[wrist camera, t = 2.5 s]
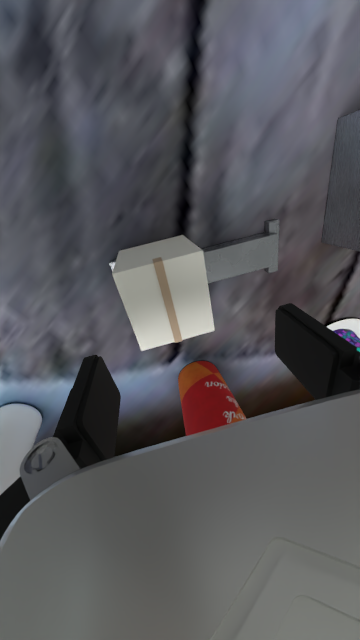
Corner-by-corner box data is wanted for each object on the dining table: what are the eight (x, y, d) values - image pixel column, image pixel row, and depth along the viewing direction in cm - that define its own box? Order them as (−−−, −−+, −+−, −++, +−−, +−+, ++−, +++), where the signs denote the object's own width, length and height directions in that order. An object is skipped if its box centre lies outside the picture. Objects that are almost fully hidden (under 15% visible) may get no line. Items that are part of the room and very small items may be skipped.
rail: (110, 261, 20) (108, 265, 19) (274, 219, 21) (284, 220, 19) (127, 307, 23) (127, 314, 21) (273, 268, 23) (281, 273, 22)
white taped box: (118, 250, 20) (111, 273, 13) (182, 234, 20) (203, 249, 14) (140, 311, 23) (141, 352, 17) (194, 296, 23) (215, 331, 17)
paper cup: (230, 383, 31) (290, 499, 19) (182, 403, 31) (211, 530, 19) (216, 344, 27) (280, 460, 15) (160, 368, 27) (180, 500, 15)
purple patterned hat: (328, 387, 36) (355, 413, 32) (276, 373, 32) (298, 401, 28) (383, 329, 32) (423, 351, 27) (329, 304, 28) (367, 325, 23)
